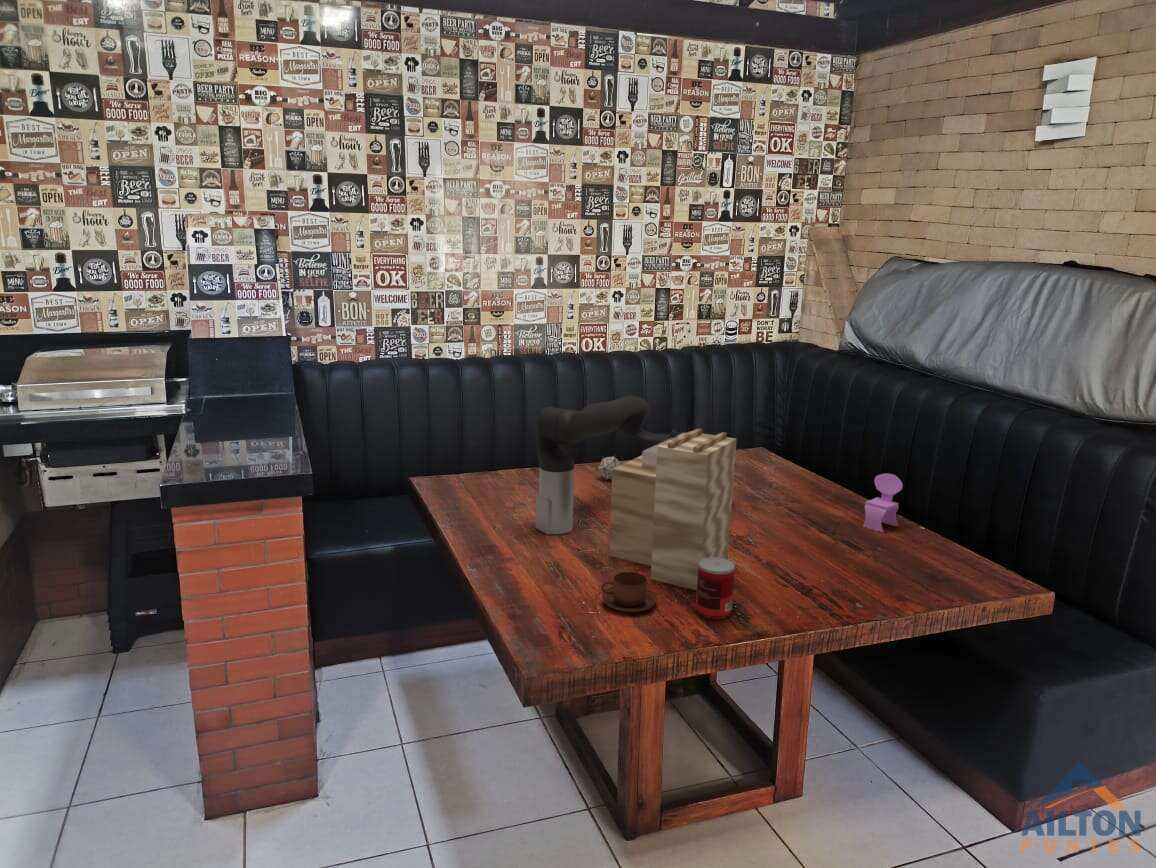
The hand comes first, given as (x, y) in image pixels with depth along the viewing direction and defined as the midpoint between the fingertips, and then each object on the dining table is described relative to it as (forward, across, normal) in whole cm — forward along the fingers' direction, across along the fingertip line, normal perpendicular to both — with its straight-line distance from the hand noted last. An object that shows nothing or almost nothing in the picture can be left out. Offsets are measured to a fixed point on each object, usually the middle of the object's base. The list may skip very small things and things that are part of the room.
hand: (681, 434), depth 222 cm
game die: (-42, +38, -8) cm, 58 cm away
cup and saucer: (+27, -10, -47) cm, 55 cm away
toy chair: (-46, -46, -5) cm, 65 cm away
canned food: (+21, -27, -44) cm, 55 cm away
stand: (+1, -6, -32) cm, 33 cm away
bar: (+3, 0, -8) cm, 8 cm away
